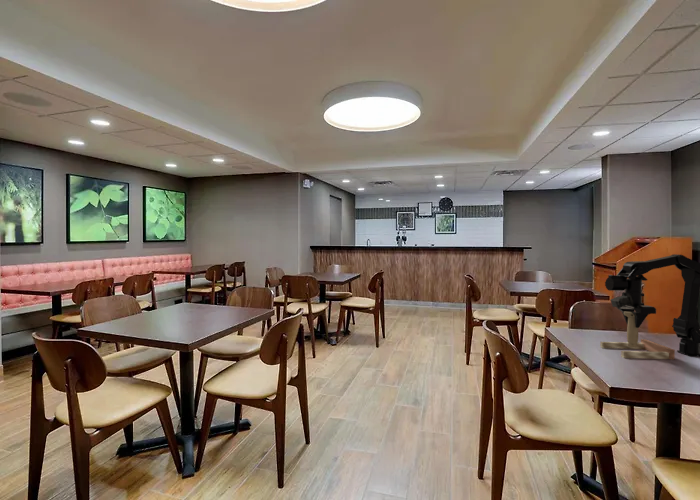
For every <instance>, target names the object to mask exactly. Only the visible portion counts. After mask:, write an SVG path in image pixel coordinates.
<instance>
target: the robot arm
mask: <svg viewBox="0 0 700 500" xmlns="http://www.w3.org/2000/svg"><path fill="white" fill-rule="evenodd" d="M670 266H675V268H676V269H678V270H680V271H681V274H680V275H681V278H682V279H683V281H684V286H683V287H684V288H683V294H682V295H683V297H682V302H681V309H680V315H679V316H678V317H677V318H676V317H674V318H673V319H672V321H673V323H672V325H671V327H672V328H673V332H675V334H676V337H677V338H678V339H680V342H678V343H679V345H678V346H679V348H678V350H676V352H677V353H680V354H683V355H686V356H689V357H700V322H699V320H698V319H697V312H698V305H699V298H700V262H698V261H697V260H694V259H692V258H689V257H687V256H685V255H683V254H671V255H667V256H661V257H659V258H658V257H657V258H653V259H648V260H644V261H643V260H642V261H641V260H639V261H636V260H635V261H626V262H624V264H623V265H622V268H621V269H620V270H619V272H618V273H617V274H616V275H615V274H608V276H607V278H606V279H605V282H604V287H605V288H606V290H607V291H613V292H614V291H615V292H616V291H622V293H621V295H620V296H616V297H613V298H611V299H610V302H611V305H612V307H613V308H614V307H615V308H616V309H617V310H619V311H620V312H621V313H622V315H623V317H624V320H625V323H626V325H627V326H628V317H627V316H625V315H624V311H630V312H632V313H633V314H634V316H635V326H636V328H638V329H639V328H640V327H641V326H642V324H643V323H644V321H645V319H646V318H647V317H648V316H649V315H653V314H655V315H656V314H657V308H656V307H655V306H652V305H645V302H642V298H643V297H645V293H643V292H642V289H643V282H644V281H648V278H647V277H645V276H644V275H645V274H648V273H649V272H651V271H653V270H657V269H662V268H665V267H670Z"/></svg>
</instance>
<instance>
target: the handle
mask: <svg viewBox="0 0 700 500" xmlns="http://www.w3.org/2000/svg"><path fill="white" fill-rule="evenodd" d="M624 315H625V316H627V317H628V325H627V328H626V342H628V346H629V347H635V348H636V347H637V343H639V328H636V326H635V316H634V314H633V313H632V312H630V311H624ZM624 315H623V316H624Z"/></svg>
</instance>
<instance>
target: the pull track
mask: <svg viewBox="0 0 700 500" xmlns="http://www.w3.org/2000/svg"><path fill="white" fill-rule="evenodd" d="M599 346H600V348H601V349H618V350H619V349H623V350H621V354H620V355H621V358H623V359H645V360H646V359H647V360H649V359H650V360H652V359H654V360H655V359H656V360H675V357H676V356H675V353H676V352H675V351H676V350H675V349H673V348H671V347H667V346H666V345H662V344H660V343H656V342H654V341H651V340H648V339H645V338H644V339H640V342H638V343H637V347H636V348H635V347H629V346H628V341H625V342H623V341H600V345H599ZM625 349H627V350H625ZM629 349H631V350H629ZM636 350H639V351H636ZM641 350H645V351H641Z"/></svg>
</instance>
